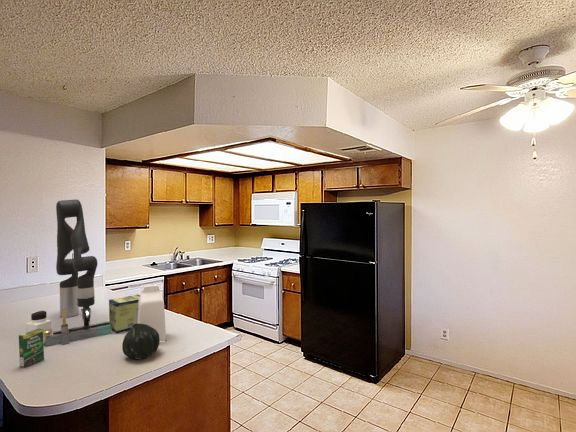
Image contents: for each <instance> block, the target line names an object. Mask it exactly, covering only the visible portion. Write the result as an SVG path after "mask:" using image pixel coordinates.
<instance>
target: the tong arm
mask: <svg viewBox="0 0 576 432" xmlns="http://www.w3.org/2000/svg"><path fill="white" fill-rule="evenodd" d="M104 325H110V321H109V320H108V321H103V322H98V323H97V322H96V323H94V324H93V323H92V324H89V325H86V326H84V325H82V326H81V325H80V326H76V327H71V328H68V329H69V332H72V331H78V330H83V329H89V328H94V327H99V326H104ZM56 334H61V329H59V330H54V331H53V330H52V335H56Z"/></svg>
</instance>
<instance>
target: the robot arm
mask: <svg viewBox="0 0 576 432" xmlns="http://www.w3.org/2000/svg"><path fill="white" fill-rule="evenodd" d="M55 206H56V207H55V213H56V223H57V224H56V225H57V228H56V229H57V231H56V249H57V250H56V251H57V254H56V267H55V271H56V275H58V276H67V275H71V276H70V277H69V278H67V279H64V280H62V281H60V282H59V316H60V318H62V309H66V318H71V317H76V316H78V315H79V313H80V312H79V311H80V310H79V309H80V308H81V317H82V322H83V326H86V325H90V322H91V316H92V315H91V313H92V309H91V307H92V306H94V305H95V296H96V295H95V284H94V283H95V281H94V280H95V279H94V278H95V275H96V271H97V267H98V260H97V257H95V256H94V255H89V256H82V255H84V254H87V253H88V252H89V251H90V246H89V242H88V239H87V234H86V228H85V226H86V225H85V219H84V217H85V216H84V210H83V205H82V203H81V201H80V200H79V199H64V200H58V201H57V203H56V205H55ZM68 218H69V219H70V218H76V224H75V226H74V228H73V227H72V226H71V225H70V224H68V223H67V221H66V219H68ZM72 251H73V258H67V256H68V255H69V254H70V253H71V252H72ZM84 271H85V273H84V274H82V275H80V276H79V272H84Z"/></svg>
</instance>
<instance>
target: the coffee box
mask: <svg viewBox="0 0 576 432" xmlns="http://www.w3.org/2000/svg"><path fill="white" fill-rule="evenodd" d="M44 346H45V345H44V337H43V329H40V328H38V329H36V330H33V331H30V332H27V331H26V332H25V333H22V334H18V350H19V367H20V368H23V369H24V368H25V369H26V368H27V367H30V366H31V365H32V366H33V365H35V364H36V363H40V362H41V361H42V362H43V361H44V360H45V349H44V348H45V347H44Z"/></svg>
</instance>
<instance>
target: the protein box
mask: <svg viewBox="0 0 576 432" xmlns="http://www.w3.org/2000/svg"><path fill="white" fill-rule="evenodd" d="M140 295H141V294H132V295H127V296H122V297H118V298H111V299H108V311H109V312H108V314H109V315H108V317H109V319H108V321H110V324H111V329H112V332H114V333H115V334H117V335H118V334H121V333H122V334H123V333H126V332H128V331H129V330H130V329H131V327H132V326H133V325H134V324H137V323H138V302H139V297H140Z"/></svg>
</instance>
